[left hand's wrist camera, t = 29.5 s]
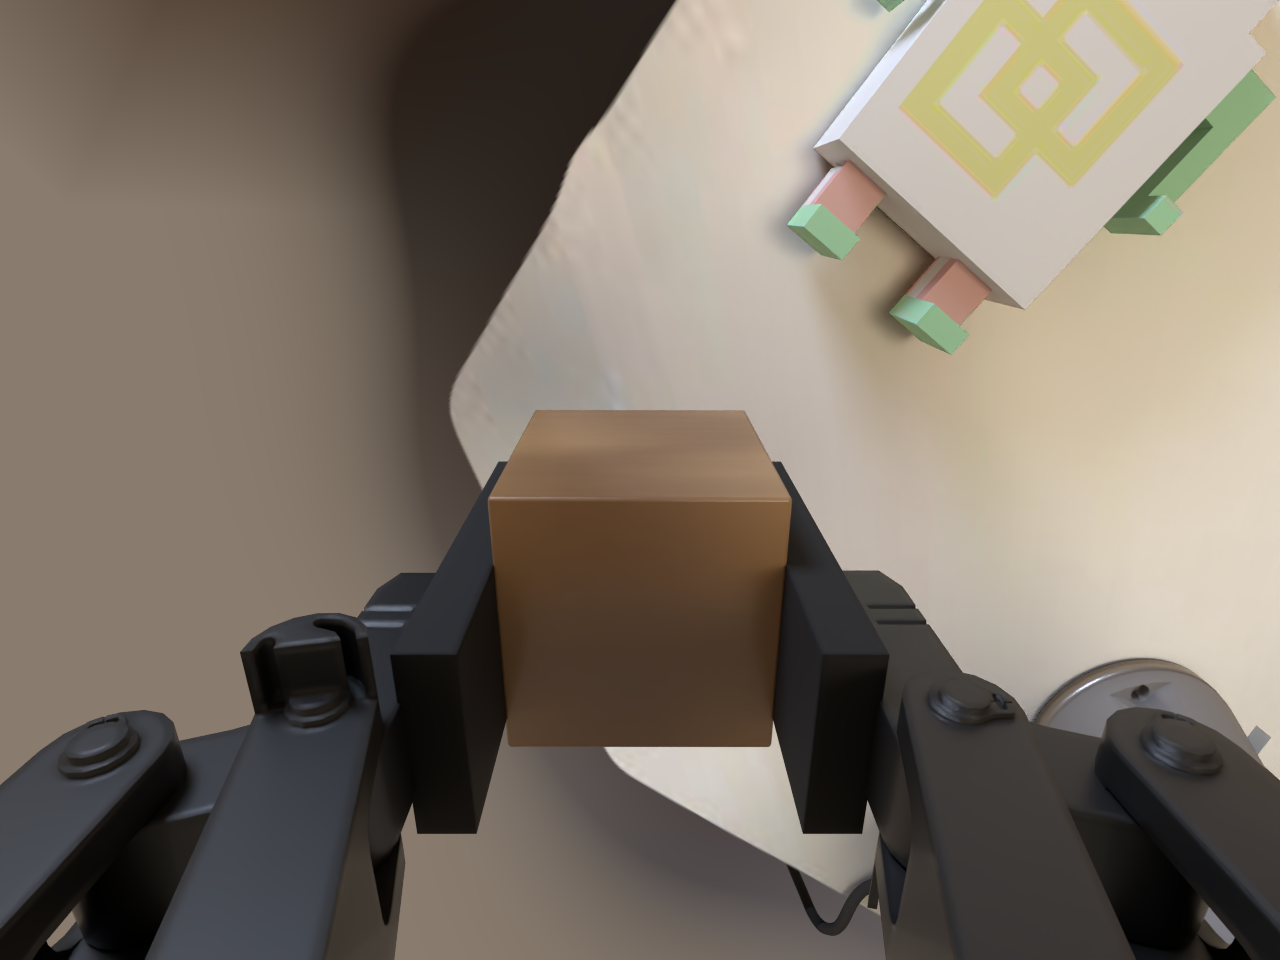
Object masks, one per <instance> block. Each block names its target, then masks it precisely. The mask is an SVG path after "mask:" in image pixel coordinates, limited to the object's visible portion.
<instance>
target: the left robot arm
mask: <svg viewBox="0 0 1280 960" xmlns="http://www.w3.org/2000/svg"><path fill="white" fill-rule="evenodd" d="M507 463H508V462H498V464H497V466H496V467H495V469H494V471H493V473H492V474H491V476H490V478H489V480H488V482H487V483H486V485H485V487H484V489H483V490H482V492H481V494H480V496H479V498H478V499H477V501H476V503H475V505H474V506H473V508H472V510H471V512H470V513H469V515H468V517H467V519H466V521H465V522H464V524H463V526H462V528H461V529H460V531H459V533H458V535H457V536H456V538H455V540H454V542H453V544H452V545H451V547H450V549H449V551H448V552H447V554H446V556H445V558H444V560H443V561H442V563H441V565H440V567H439V569H438V570H437V572H436V573H400V574H399V575H397V576H396V577H394V578H393V579H391V580H390V581H388V582H387V583H385V584H384V585H382V586H381V587H380V588H378V589H377V590H376V592H375V593H374V595H373V596H372V597H371V599H370V600H369V602H368V603H367V605H366V606H365V608H364V611H362V612H361V613H360V615H359V616H358V618H356V617H352V616H348V615H344V614H340V613H317V614H312V615H307V616H302V617H297V618H293V619H290V620H288V621H285V622H282V623H280V624H277V625H274V626H272V627H270V628H268V629H267V630H265V631H264V632H262V633H260V634H259V635H257V636H256V637H254V638H252V639H251V640H250V642H249V643H248V644H247V645H246V646H245V647H244V648H243V650H242V651H241V652H240V654H241V658H242V662H243V666H244V670H245V674H246V679H247V683H248V687H249V691H250V695H251V699H252V703H253V707H254V711H255V715H254V717H253V720H252V722H251V724H250V725H247V726H244V727H240V728H237V729H233V730H229V731H224V732H219V733H215V734H210V735H205V736H200V737H196V738H191V739H187V740H181V741H179V739H178V736H177V733H176V729H175V726H174V723H173V722H172V721H171V720H170V719H169V718H168V717H167V716H166V715H164V714H163V713H158V712H152V711H147V710H140V711H131V712H121V713H117V714H112V715H108V716H106V717H101V718H98V719H95V720H92V721H89V722H87V723H86V724H84V725H82V726H80V727H78V728H75V729H73V730H71V731H69V732H67V733H65V734H63V735H62V736H60V737H59V738H57V739H56V740H55V741H53V742H52V743H50V744H49V745H47V746H46V747H45V748H43V749H42V750H40V751H39V752H38V753H37V754H36V755H35V756H33V757H32V758H31V759H30V760H29V761H28V762H26V763H25V764H24V765H23V766H22V767H21V768H20V769H18V770H17V771H16V772H15V773H14V774H13V775H11V776H10V777H9V778H8V779H7V780H6V781H4V782H3V783H2V784H1V785H0V960H394V957H395V948H396V939H397V931H398V922H399V913H400V905H401V896H402V887H403V878H404V870H405V858H404V850H403V844H402V838H401V831H402V828H403V826H404V823H405V820H406V818H407V815H408V813H409V810H410V807H411V805H412V802H413V808H414V815H415V821H416V828H417V833H418V834H476V833H477V830H478V826H479V822H480V818H481V815H482V811H483V807H484V803H485V799H486V796H487V792H488V788H489V784H490V780H491V776H492V773H493V769H494V765H495V761H496V757H497V754H498V750H499V746H500V742H501V738H502V734H503V730H504V727H505V723H506V708H505V696H504V684H503V672H502V660H501V648H500V636H499V624H498V612H497V600H496V588H495V576H494V565H493V558H492V546H491V534H490V522H489V510H488V498H489V496H490V494H491V492H492V490H493V489H494V487H495V485H496V483H497V481H498V479H499V477H500V476H501V474H502V472H503V470H504V468H505V466H506V464H507ZM772 463H773V465H774V467H775V469H776V471H777V473H778V474H779V476H780V478H781V480H782V482H783V484H784V486H785V488H786V489H787V491H788V493H789V495H790V497H791V499H792V506H791V518H790V530H789V541H788V553H787V564H786V571H785V583H784V595H783V606H782V618H781V630H780V642H779V654H778V665H777V677H776V689H775V701H774V713H773V721H774V725H775V729H776V733H777V736H778V740H779V744H780V748H781V752H782V755H783V759H784V763H785V767H786V771H787V775H788V778H789V782H790V786H791V790H792V794H793V797H794V801H795V805H796V809H797V813H798V816H799V820H800V824H801V828H802V832H803V834H862V831H863V824H864V818H865V811H866V805H867V800H868V803H869V805H870V808H871V810H872V813H873V815H874V818H875V821H876V823H877V826H878V828H879V831H880V832H879V838H878V844H877V850H876V856H875V862H874V868H873V874H872V879H869V880H867V881H865V882H863V883H862V884H860V885H859V886H858V887H856V888H855V889H854V890H853V892H852V893H851V894H850V895H849V897H848V899H847V900H846V902H845V904H844V906H843V908H842V910H841V912H840V914H839V916H838V918H837V919H836V921H835V922H833V923H827V922H825V921H824V920H823V919H822V918H821V917H820V916H819V915H818V913H817V911H816V909H815V907H814V905H813V902H812V900H811V897H810V895H809V893H808V890H807V888H806V886H805V883H804V881H803V879H802V877H801V874H800V872H799V870H798V869H797V868H795V867H793V866H791V865H789V864H787V863H786V865H787V867H788V870H789V872H790V875H791V877H792V880H793V882H794V884H795V887H796V889H797V891H798V894H799V896H800V899H801V901H802V904H803V906H804V908H805V911H806V913H807V915H808V917H809V919H810V920H811V922H812V924H813V925H814V926H815V927H816V928H817V930H819V931H820V932H821V933H823V934H826V935H831V936H834V935H838V934H840V933H841V932H842V931H843V930H844V929H845V928H846V927H847V925H848V924H849V922H850V920H851V918H852V916H853V914H854V912H855V910H856V908H857V906H858V905H859V903H860V902H861V901H862V899H864V898H865V897H866V896H867V895H868V894H869V899H868V908H873V909H877V905H878V899H879V903H880V912H881V920H882V929H883V938H884V946H885V955H886V960H1280V780H1279V779H1278V778H1276V777H1275V776H1274V775H1273V774H1272V773H1271V772H1270V771H1269V770H1268V769H1267V768H1265V767H1264V765H1263V763H1262V762H1261V760H1260V758H1259V757H1258V753H1259V752H1260V751H1261V750H1262V748H1263V747H1264V746H1265V744H1266V743H1267V742H1268V741H1269V739H1270V738H1271V737H1270V736H1269V735H1267V734H1266V733H1265V732H1264V731H1263V730H1261V729H1260V728H1259V727H1258V726H1257V725H1256V727H1255V728H1254V729H1253V731H1252V732H1251V733H1250V735H1249V736H1248V737H1247V736H1246V734H1245V733H1244V731H1243V729H1242V728H1241V726H1240V724H1239V723H1238V721H1237V719H1236V717H1235V716H1234V714H1233V712H1232V711H1231V709H1230V708H1229V706H1228V705H1227V703H1226V702H1225V701H1224V700H1223V699H1222V697H1221V696H1220V695H1219V694H1218V693H1217V692H1216V691H1215V690H1214V689H1213V688H1212V687H1211V686H1210V685H1209V684H1207V683H1206V682H1205V681H1204V680H1203V679H1201V678H1200V677H1199V676H1198V675H1197V674H1195V673H1193V672H1192V671H1190V670H1189V669H1187V668H1185V667H1182V666H1180V665H1177V664H1174V663H1170V662H1166V661H1160V660H1130V661H1124V662H1118V663H1114V664H1110V665H1107V666H1104V667H1101V668H1098V669H1096V670H1094V671H1091V672H1089V673H1087V674H1085V675H1083V676H1081V677H1079V678H1078V679H1076V680H1074V681H1073V682H1071V683H1070V684H1068V685H1067V686H1065V687H1064V688H1063V689H1062V690H1060V691H1059V692H1058V693H1057V694H1056V695H1055V696H1054V697H1053V698H1052V699H1050V701H1049V702H1048V703H1047V704H1046V705H1045V706H1044V708H1043V709H1042V710H1041V712H1040V713H1039V715H1038V716H1037V718H1036V720H1035V721H1034V723H1033V722H1029V721H1028V718H1027V716H1026V714H1025V712H1024V711H1023V709H1022V708H1021V707H1020V705H1019V704H1018V703H1017V701H1016V700H1015V699H1014V698H1013V697H1012V696H1010V695H1009V694H1008V693H1006V692H1005V691H1004V690H1002V689H1001V688H999V687H998V686H997V685H995V684H993V683H990V682H988V681H986V680H984V679H981V678H979V677H977V676H974V675H970V674H966V673H963V672H962V671H961V669H960V668H959V667H958V665H957V664H956V662H955V661H954V659H953V658H952V657H951V655H950V654H949V652H948V651H947V649H946V648H945V647H944V645H943V644H942V642H941V641H940V639H939V638H938V637H937V635H936V634H935V632H934V631H933V629H932V628H931V627H930V625H927V624H926V620H925V618H924V617H923V615H922V614H921V612H920V611H919V610H918V609H916V608H915V604H914V602H913V601H912V600H911V598H910V597H909V595H908V594H907V592H906V591H905V590H904V588H903V587H902V586H901V585H899V584H898V583H896V582H895V581H893V580H892V579H890V578H889V577H887V576H886V575H884V574H883V573H881V572H880V571H842V569H841V568H840V566H839V564H838V562H837V560H836V559H835V557H834V555H833V553H832V552H831V550H830V548H829V546H828V544H827V543H826V541H825V539H824V537H823V536H822V534H821V532H820V530H819V529H818V527H817V525H816V523H815V521H814V520H813V518H812V516H811V514H810V513H809V511H808V509H807V507H806V505H805V504H804V502H803V500H802V498H801V497H800V495H799V493H798V491H797V490H796V488H795V486H794V484H793V482H792V481H791V479H790V477H789V475H788V474H787V472H786V470H785V468H784V466H783V465H782V463H781V462H772ZM71 911H72V912H73V915H74V917H75V919H76V922H75V923H74V925H73V926H72V927H71V928H70V930H69V931H68V932H67V933H66V934H65V936H63V937H62V938H61V939H60V940H59V941H58V942H57V943H56V944H54V945H53V946H52V947H50V946H48V944H47V939H48V938H49V937H50V936H51V935H52V933H53V932H54V931H55V930H56V929H57V927H58V926H59V925H60V924H61V923H62V922H63V920H64V919H65V918H66V917H67V916H68V914H69V913H70V912H71Z"/></svg>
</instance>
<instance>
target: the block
mask: <svg viewBox="0 0 1280 960" xmlns="http://www.w3.org/2000/svg"><path fill="white" fill-rule="evenodd" d="M791 506H792V499H791V497H790V495H789V493H788V491H787V489H786V488H785V486H784V484H783V482H782V480H781V478H780V476H779V474H778V473H777V471H776V469H775V467H774V465H773V463H772V461H771V460H770V458H769V456H768V454H767V452H766V450H765V448H764V446H763V445H762V443H761V441H760V439H759V437H758V435H757V433H756V432H755V430H754V428H753V426H752V424H751V422H750V420H749V418H748V417H747V415H746V413H745V411H652V410H537V411H535V413H534V414H533V416H532V418H531V420H530V422H529V424H528V426H527V427H526V429H525V431H524V433H523V435H522V437H521V438H520V440H519V442H518V444H517V446H516V448H515V450H514V451H513V453H512V455H511V457H510V459H509V461H508V463H507V464H506V466H505V468H504V470H503V472H502V474H501V476H500V477H499V479H498V481H497V483H496V485H495V487H494V489H493V490H492V492H491V494H490V496H489V498H488V510H489V522H490V534H491V546H492V558H493V565H494V576H495V588H496V600H497V612H498V624H499V636H500V648H501V660H502V672H503V684H504V696H505V708H506V726H507V737H508V744H509V746H511V747H769V746H770V745H771V740H772V728H773V713H774V701H775V689H776V677H777V665H778V654H779V642H780V630H781V618H782V606H783V595H784V583H785V571H786V564H787V553H788V541H789V530H790V518H791Z"/></svg>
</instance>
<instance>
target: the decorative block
mask: <svg viewBox="0 0 1280 960" xmlns="http://www.w3.org/2000/svg"><path fill="white" fill-rule="evenodd" d="M877 1H878V2H879V3H880V4H881V5H882V6H883V7H884V8H885V9H886V10H887V11H888V12H890V11H891V10H893V9H894V8H895V7H896V6H898V5H899V4H900V3H901V2H903V1H904V0H877ZM1278 1H1279V0H927V1H926V2H925V4H924V5H923V6H922V8H921V9H920V10H919V12H918V13H917V14H916V15H915V17H914V18H913V19H912V21H911V22H910V23H909V24H908V26H907V27H906V28H905V30H904V31H903V32H902V34H901V35H900V36H899V37H898V39H897V40H896V41H895V43H894V44H893V45H892V47H891V48H890V49H889V50H888V52H887V53H886V54H885V56H884V57H883V58H882V60H881V61H880V62H879V63H878V65H877V66H876V67H875V69H874V70H873V71H872V72H871V74H870V75H869V76H868V78H867V79H866V80H865V82H864V83H863V84H862V85H861V87H860V88H859V89H858V91H857V92H856V93H855V95H854V96H853V97H852V98H851V100H850V101H849V102H848V104H847V105H846V106H845V107H844V109H843V110H842V111H841V113H840V114H839V115H838V117H837V118H836V119H835V120H834V122H833V123H832V124H831V126H830V127H829V128H828V130H827V131H826V132H825V133H824V135H823V136H822V137H821V139H820V140H819V141H818V142H817V144H816V145H815V146H814V148H813V149H815V150H816V151H817V152H818V153H819V154H820V155H821V156H822V157H823V158H824V159H826V160H827V161H828V162H829V163H830V164H831V165H832V166H833V167H834V168H831V169H830V171H829V172H828V173H827V174H826V176H825V177H824V178H823V179H822V181H821V182H820V183H819V185H818V186H817V187H816V188H815V190H814V191H813V192H812V193H811V195H810V196H809V197H808V199H807V200H806V201H805V202H804V204H803V205H802V206H801V207H800V209H799V210H798V211H797V212H796V214H795V215H794V216H793V218H792V219H791V220H790V221H789V223H788V224H787V226H788V227H789V228H791V229H792V230H793V231H794V232H795V233H796V234H797V235H799V236H800V237H801V238H802V239H803V240H804V241H806V242H807V243H808V244H809V245H810V246H811V247H813V248H814V249H815V250H816V251H817V252H818V253H819V254H821V255H822V256H827V257H831V258H835V259H839V260H843V259H844V258H845V256H846V255H847V254H848V253H849V252H850V250H851V249H852V248H853V247H854V245H855V244H856V243H857V242H858V241H859V239H860V238H859V237H858V236H857V235H856V234H855V232H856V231H857V229H858V228H859V227H860V226H861V225H862V223H863V222H864V221H865V220H866V218H867V217H868V216H869V215H870V214H871V212H872V211H873V210H874V209H875V208H876V206H877V207H879V208H880V209H881V210H882V211H883V212H884V213H885V214H886V215H887V216H889V217H890V218H891V219H892V220H893V221H894V222H895V223H896V224H897V225H898V226H900V227H901V228H902V229H903V230H904V231H905V232H906V233H907V234H908V235H910V236H911V237H912V238H913V239H914V240H915V241H916V242H917V243H918V244H919V245H921V246H922V247H923V248H924V249H925V250H926V251H927V252H928V253H929V254H931V255H932V256H933V257H934V258H935V260H934V262H933V263H932V264H931V265H930V266H929V267H928V269H927V270H926V271H925V272H924V273H923V274H922V275H921V277H920V278H919V279H918V280H917V281H916V282H915V283H914V285H913V286H912V287H911V288H910V289H909V290H908V291H907V293H906V294H905V295H904V296H903V297H902V298H901V299H900V301H899V302H898V303H897V304H896V305H895V306H894V307H893V309H892V310H891V311H890V312H889V314H890V315H891V316H893V317H894V318H895V319H896V320H897V321H898V322H899V323H901V324H902V325H903V326H904V327H905V328H906V329H908V330H909V331H910V332H911V333H912V334H913V335H915V336H916V337H917V338H918V339H919V340H920V341H922V342H924V343H927V344H929V345H931V346H933V347H935V348H938V349H940V350H942V351H944V352H946V353H948V354H952V353H953V352H954V351H955V350H956V349H957V348H958V347H959V346H960V345H961V343H962V342H963V341H964V340H965V339H966V338H967V337H968V336H969V334H968V333H967V332H966V331H965V330H963V329H962V328H961V327H960V325H961V324H962V323H963V322H964V321H965V320H966V319H967V317H968V316H969V315H970V314H971V313H972V312H973V311H974V310H975V309H976V308H977V307H978V305H979V304H980V303H981V302H982V301H983V300H984V299H985V300H989V301H993V302H997V303H1001V304H1005V305H1008V306H1012V307H1016V308H1020V309H1024V310H1025V309H1026V308H1027V307H1028V306H1029V305H1030V303H1031V302H1032V301H1033V300H1034V299H1035V298H1036V297H1037V296H1038V295H1039V294H1040V293H1041V292H1042V291H1043V290H1044V289H1045V288H1046V287H1047V285H1048V284H1049V283H1050V282H1051V281H1052V280H1053V279H1054V278H1055V277H1056V276H1057V275H1058V274H1059V273H1060V272H1061V271H1062V270H1063V268H1064V267H1065V266H1066V265H1067V264H1068V263H1069V262H1070V261H1071V260H1072V259H1073V258H1074V257H1075V256H1076V255H1077V254H1078V253H1079V251H1080V250H1081V249H1082V248H1083V247H1084V246H1085V245H1086V244H1087V243H1088V242H1089V241H1090V240H1091V239H1092V238H1093V237H1094V236H1095V235H1096V233H1097V232H1098V231H1099V230H1100V229H1101V228H1102V227H1103V226H1104V227H1105V228H1106V229H1107V230H1108V231H1109V232H1110V233H1122V234H1144V235H1162V234H1163V233H1164V232H1165V231H1166V230H1167V229H1168V228H1169V227H1170V226H1171V225H1172V223H1173V222H1174V221H1175V220H1176V219H1177V218H1178V217H1179V216H1180V215H1181V214H1182V213H1183V212H1182V211H1181V210H1180V209H1179V208H1178V207H1177V206H1176V205H1175V204H1174V202H1175V201H1176V200H1177V199H1178V198H1179V197H1180V196H1181V195H1182V194H1183V193H1184V192H1185V191H1186V190H1187V189H1188V188H1189V186H1190V185H1191V184H1192V183H1193V182H1194V181H1195V180H1196V179H1197V178H1198V177H1199V176H1200V175H1201V174H1202V173H1203V172H1204V171H1205V170H1206V169H1207V168H1208V167H1209V166H1210V165H1211V164H1212V163H1213V162H1214V161H1215V160H1216V159H1217V158H1218V156H1219V155H1220V154H1221V153H1222V152H1223V151H1224V150H1225V149H1226V148H1227V147H1228V146H1229V145H1230V144H1231V143H1232V142H1233V141H1234V140H1235V139H1236V138H1237V137H1238V136H1239V135H1240V134H1241V133H1242V132H1243V131H1244V130H1245V129H1246V127H1247V126H1248V125H1249V124H1250V123H1251V122H1252V121H1253V120H1254V119H1255V118H1256V117H1257V116H1258V115H1259V114H1260V113H1261V112H1262V111H1263V110H1264V109H1265V108H1266V107H1267V106H1268V105H1269V104H1270V103H1271V102H1272V101H1273V100H1274V98H1275V96H1274V94H1273V93H1272V92H1271V91H1270V90H1269V89H1268V87H1267V86H1266V85H1265V84H1264V83H1263V82H1262V81H1261V79H1260V78H1259V77H1258V76H1257V75H1256V74H1255V72H1254V71H1253V70H1252V68H1253V67H1254V66H1255V65H1256V64H1257V63H1258V62H1259V61H1260V59H1261V58H1262V57H1263V56H1264V55H1265V54H1266V52H1265V51H1264V50H1263V49H1262V48H1261V46H1260V45H1259V44H1258V43H1257V42H1256V41H1255V39H1254V38H1253V37H1252V36H1251V35H1250V34H1249V32H1250V31H1251V30H1252V29H1253V28H1254V27H1255V26H1256V25H1257V24H1258V23H1259V22H1260V21H1261V20H1262V18H1263V17H1264V16H1265V15H1266V14H1267V13H1268V12H1269V11H1270V10H1271V9H1272V8H1273V7H1274V5H1275V4H1276V3H1277V2H1278Z"/></svg>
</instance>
